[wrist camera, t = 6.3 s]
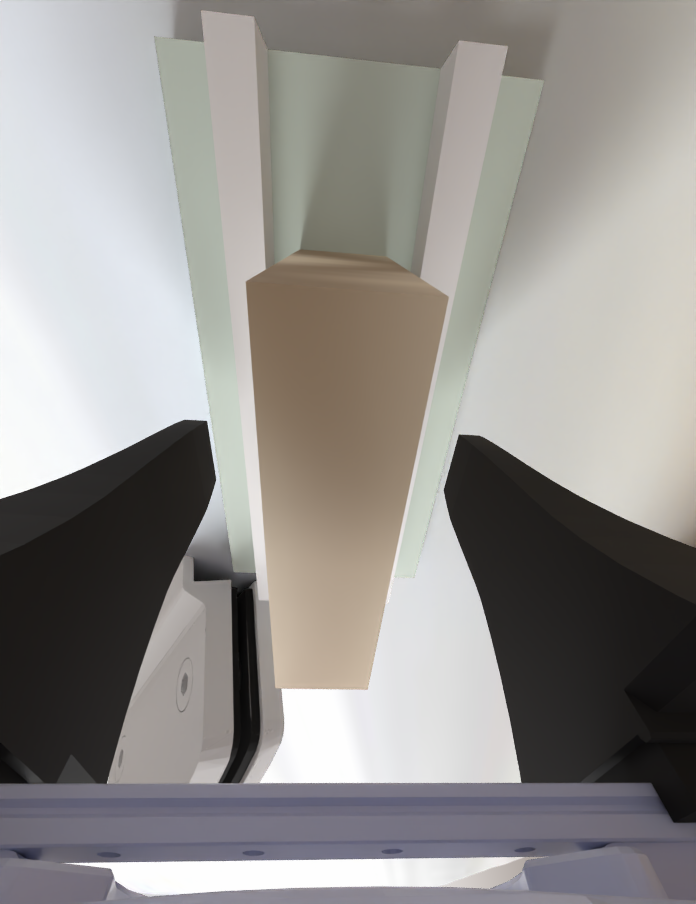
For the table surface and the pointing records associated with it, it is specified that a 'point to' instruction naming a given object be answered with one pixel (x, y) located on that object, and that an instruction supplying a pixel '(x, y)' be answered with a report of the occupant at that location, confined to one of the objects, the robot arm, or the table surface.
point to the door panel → (336, 448)
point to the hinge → (203, 690)
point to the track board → (336, 214)
